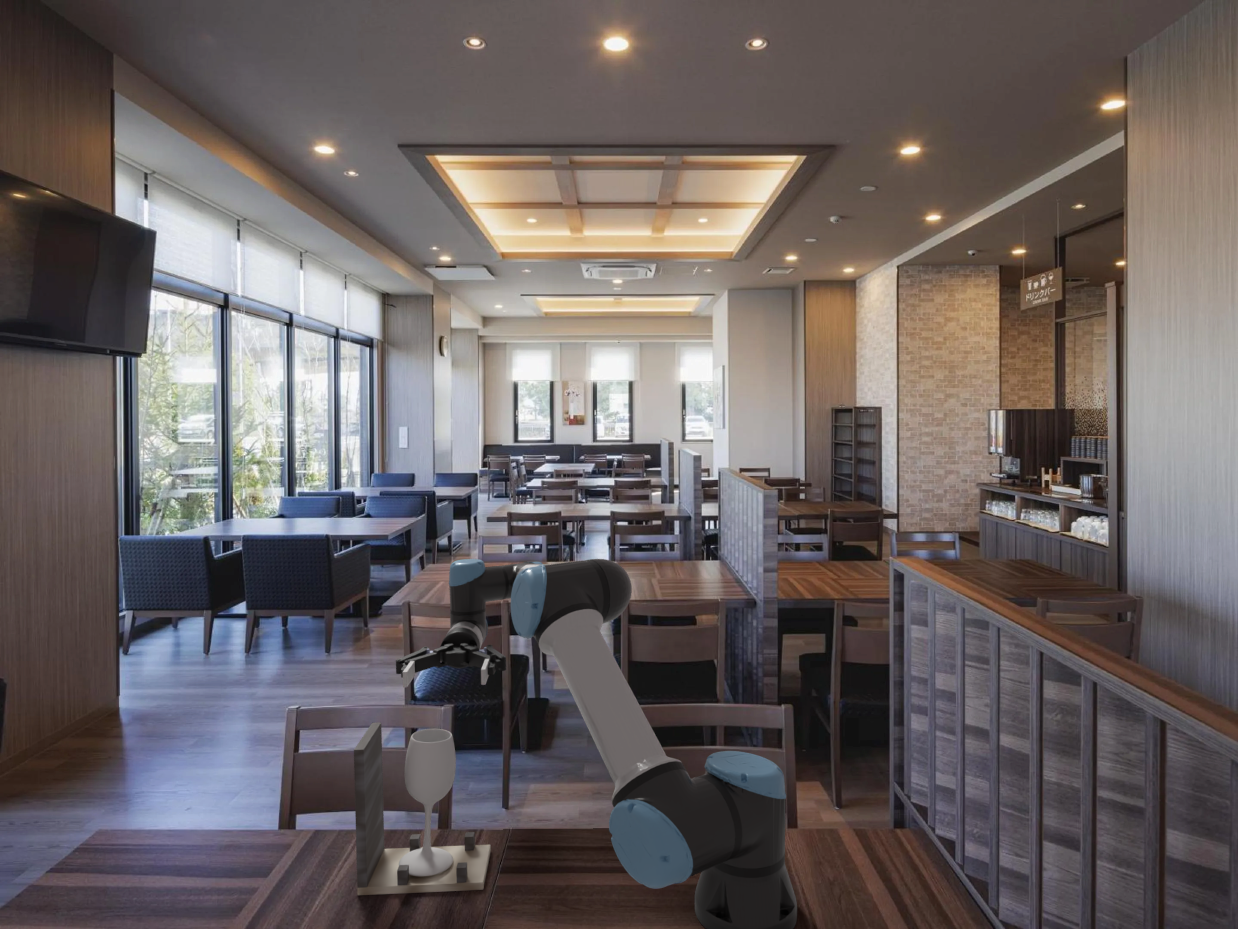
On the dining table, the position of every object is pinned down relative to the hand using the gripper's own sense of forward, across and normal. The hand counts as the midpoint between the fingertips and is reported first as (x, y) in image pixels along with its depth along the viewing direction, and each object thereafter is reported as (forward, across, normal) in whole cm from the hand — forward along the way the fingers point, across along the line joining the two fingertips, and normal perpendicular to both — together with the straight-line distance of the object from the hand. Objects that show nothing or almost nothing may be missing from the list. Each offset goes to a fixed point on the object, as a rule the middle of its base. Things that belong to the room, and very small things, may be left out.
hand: (444, 678), depth 134 cm
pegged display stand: (+9, +2, -29) cm, 31 cm away
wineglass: (+10, +2, -28) cm, 29 cm away
